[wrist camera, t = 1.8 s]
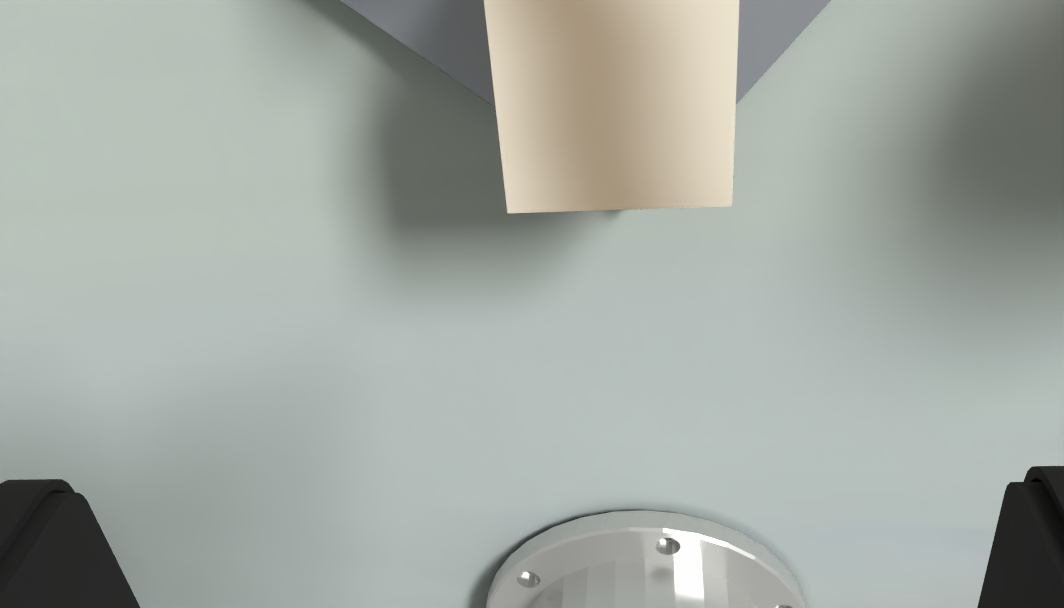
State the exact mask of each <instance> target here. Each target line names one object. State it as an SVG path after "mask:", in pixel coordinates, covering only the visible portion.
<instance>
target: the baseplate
mask: <svg viewBox="0 0 1064 608" xmlns="http://www.w3.org/2000/svg"><path fill="white" fill-rule="evenodd" d="M340 1H342V2H343V3H344V4H346V5H347V6H349V7H350V8H352V9H353V10H355V11H356V12H357V13H359V14H360V15H362V16H363V17H365V18H366V19H368V20H369V21H371V22H372V23H373V24H375V25H376V26H378V27H379V28H381V29H382V30H384V31H385V32H386V33H388V34H389V35H391V36H392V37H394V38H395V39H397V40H398V41H399V42H401V43H402V44H404V45H405V46H407V47H408V48H410V49H411V50H413V51H414V52H415V53H417V54H418V55H420V56H421V57H423V58H424V59H426V60H427V61H428V62H430V63H431V64H433V65H434V66H436V67H437V68H439V69H440V70H441V71H443V72H444V73H446V74H447V75H449V76H450V77H452V78H453V79H455V80H456V81H457V82H459V83H460V84H462V85H463V86H465V87H466V88H468V89H469V90H470V91H472V92H473V93H475V94H476V95H478V96H479V97H481V98H482V99H484V100H485V101H486V102H488V103H489V104H491V105H492V106H494V107H495V108H496V106H495V97H494V88H493V79H492V70H491V61H490V52H489V43H488V34H487V25H486V16H485V7H484V0H340ZM830 1H831V0H739V26H738V54H737V82H736V104H737V103H738V102H739V101H740V100H741V99H742V98H743V96H744V95H745V94H746V93H747V92H748V91H749V90H750V89H751V88H752V87H753V85H754V84H755V83H756V82H757V81H758V80H759V79H760V78H761V77H762V76H763V74H764V73H765V72H766V71H767V70H768V69H769V68H770V67H771V66H772V64H773V63H774V62H775V61H776V60H777V59H778V58H779V57H780V56H781V55H782V53H783V52H784V51H785V50H786V49H787V48H788V47H789V46H790V45H791V44H792V42H793V41H794V40H795V39H796V38H797V37H798V36H799V35H800V34H801V33H802V31H803V30H804V29H805V28H806V27H807V26H808V25H809V24H810V23H811V22H812V20H813V19H814V18H815V17H816V16H817V15H818V14H819V13H820V12H821V10H822V9H823V8H824V7H825V6H826V5H827V4H828V3H829V2H830Z"/></svg>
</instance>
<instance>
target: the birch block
mask: <svg viewBox="0 0 1064 608" xmlns="http://www.w3.org/2000/svg"><path fill="white" fill-rule="evenodd" d="M484 7H485V16H486V25H487V34H488V43H489V52H490V61H491V70H492V79H493V88H494V97H495V106H496V115H497V124H498V133H499V142H500V151H501V160H502V169H503V178H504V187H505V196H506V205H507V213H536V212H567V211H598V210H628V209H659V208H690V207H721V206H732V193H733V165H734V137H735V109H736V82H737V54H738V26H739V0H484Z"/></svg>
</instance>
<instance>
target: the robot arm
mask: <svg viewBox="0 0 1064 608" xmlns="http://www.w3.org/2000/svg"><path fill="white" fill-rule="evenodd" d="M0 608H140V606H139V604H138V602H137V600H136V598H135V596H134V594H133V592H132V590H131V588H130V586H129V584H128V582H127V580H126V578H125V576H124V574H123V572H122V570H121V568H120V566H119V564H118V562H117V560H116V558H115V556H114V554H113V552H112V550H111V548H110V546H109V544H108V542H107V540H106V538H105V536H104V534H103V532H102V530H101V528H100V526H99V524H98V522H97V520H96V518H95V516H94V514H93V512H92V510H91V508H90V506H89V504H88V502H87V500H86V499H85V497H84V496H83V495H81V494H80V493H75V492H74V490H73V489H72V487H71V486H70V485H69V483H67V482H65V481H64V480H60V479H47V480H7V481H5V482H3V483H1V484H0ZM486 608H806V603H805V600H804V598H803V595H802V592H801V589H800V587H799V584H798V583H797V581H796V580H795V578H794V577H793V576H792V574H791V573H790V571H789V570H788V568H787V567H786V566H785V564H784V563H782V562H781V561H780V560H779V559H778V558H777V557H776V556H775V555H773V554H772V553H771V552H770V551H769V550H768V549H767V548H766V547H764V546H762V545H761V544H759V543H757V542H756V541H754V540H752V539H751V538H749V537H747V536H746V535H744V534H742V533H741V532H738V531H736V530H733V529H731V528H728V527H725V526H723V525H720V524H718V523H715V522H713V521H709V520H705V519H701V518H697V517H692V516H688V515H684V514H679V513H669V512H659V511H648V510H642V511H618V512H609V513H603V514H598V515H592V516H587V517H581V518H578V519H575V520H572V521H570V522H567V523H564V524H561V525H558V526H555V527H552V528H550V529H549V530H547V531H545V532H543V533H541V534H539V535H537V536H536V537H534V538H532V539H530V540H528V541H527V542H526V543H525V544H523V545H522V546H521V547H520V548H519V549H517V550H516V551H515V552H514V553H512V554H511V555H510V556H509V557H508V558H507V560H506V561H505V562H504V564H503V565H502V566H501V568H500V569H499V570H498V572H497V573H496V574H495V577H494V579H493V582H492V584H491V587H490V589H489V591H488V596H487V603H486ZM978 608H1064V466H1036V467H1031V468H1030V469H1029V470H1028V471H1027V474H1026V477H1025V479H1024V482H1010V483H1009V484H1008V485H1007V488H1006V491H1005V494H1004V498H1003V503H1002V507H1001V511H1000V515H999V519H998V524H997V528H996V532H995V536H994V541H993V545H992V549H991V553H990V557H989V562H988V566H987V570H986V574H985V578H984V583H983V587H982V591H981V595H980V599H979V604H978Z"/></svg>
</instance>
